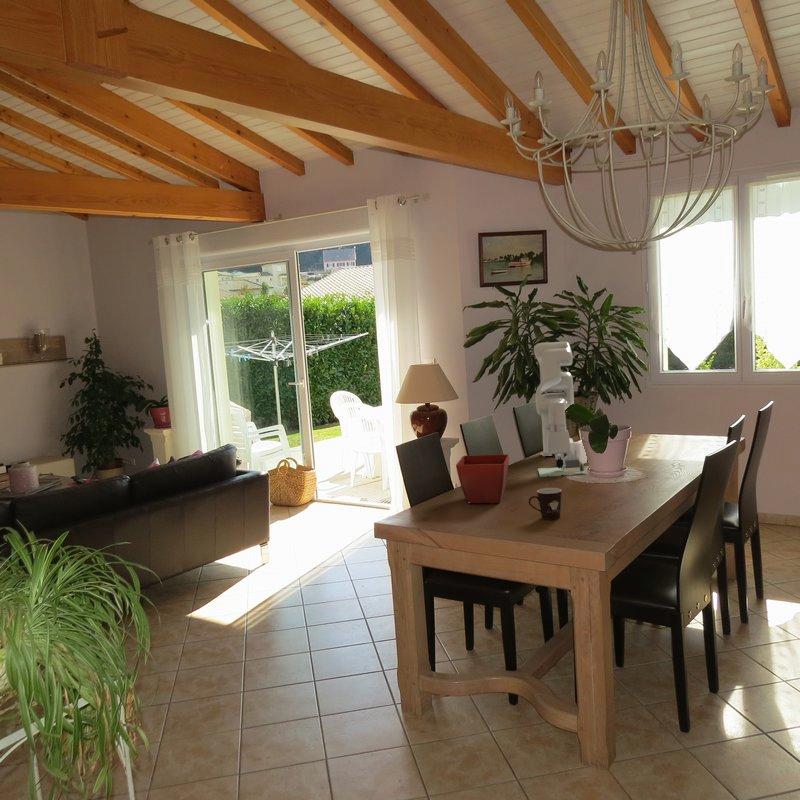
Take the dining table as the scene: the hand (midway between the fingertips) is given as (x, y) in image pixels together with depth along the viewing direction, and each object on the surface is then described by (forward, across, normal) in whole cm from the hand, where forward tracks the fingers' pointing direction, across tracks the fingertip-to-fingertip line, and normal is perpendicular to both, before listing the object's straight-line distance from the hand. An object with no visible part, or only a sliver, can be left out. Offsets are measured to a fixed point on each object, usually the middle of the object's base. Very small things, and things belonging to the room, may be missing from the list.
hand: (560, 467), depth 349 cm
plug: (+1, +6, 0) cm, 6 cm away
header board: (+2, 0, 0) cm, 2 cm away
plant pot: (+3, -33, -45) cm, 56 cm away
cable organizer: (+3, +8, +18) cm, 20 cm away
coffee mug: (+3, -11, -76) cm, 77 cm away
